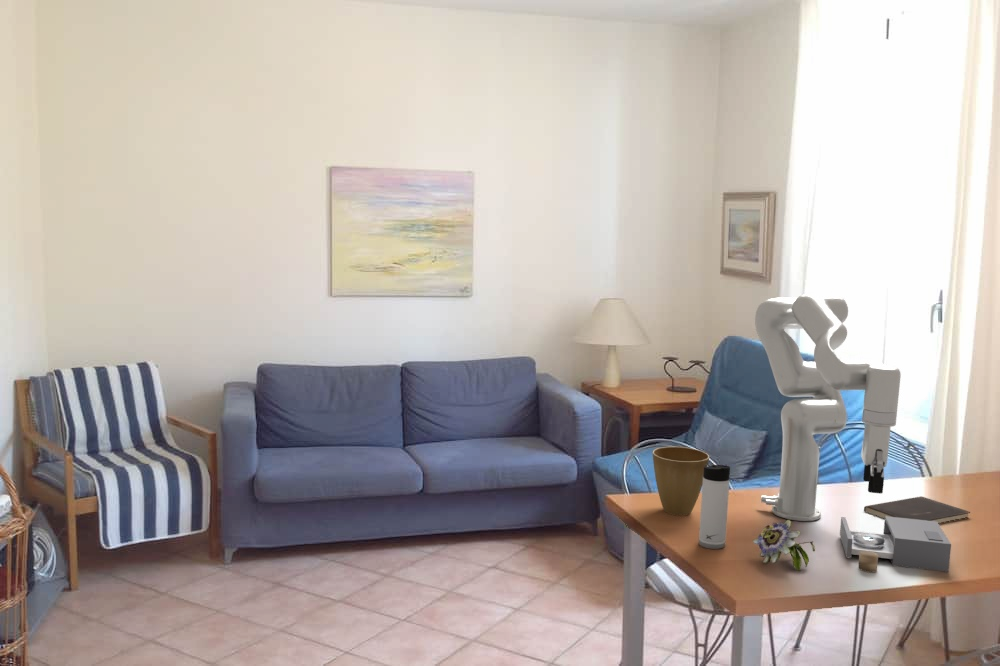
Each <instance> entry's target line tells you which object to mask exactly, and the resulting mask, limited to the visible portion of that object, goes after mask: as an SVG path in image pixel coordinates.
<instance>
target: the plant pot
mask: <svg viewBox="0 0 1000 666" xmlns="http://www.w3.org/2000/svg"><path fill="white" fill-rule="evenodd" d="M652 460H653V461H652V463H653V471H654V476H655V477H654V478H655V484H656V487H657V493H658V497H659V500H660V504H661V505H662V509H663V511H664V512H665V513H667V514H669V515H673V516H688V515H691V513H692V512H693V510H694V508H695V506H696V504H697V501H698V499H699V496H700V493H701V492H702V484H703V474H704V466H708V465H709V460H710V455H709V454H708V453H707V452H704V451H703V450H701V449H696V448H692V447H684V446H663V447H657V448H654V449H653V451H652Z"/></svg>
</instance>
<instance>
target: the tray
mask: <svg viewBox="0 0 1000 666" xmlns="http://www.w3.org/2000/svg"><path fill="white" fill-rule="evenodd" d="M840 518H841V520H840V529H839V537H840V540H841V543H842V547H843V550H844V554H845V557H846V558H847V559H851V558H852V555H853V556H854V555H855V556H856V555H857V556H859V554H860V552H862V551H869V552H873V553H876V554H878V558H881V559H889V560H890V559H893V549H894V538H893V536H892V535H888V534H883V533H877V532H871V531H870V532H868V531H859V530H850V526H849V523H848V521H847V518H846V517H845V516H841V517H840ZM856 533H870V534H875V535H878V536H880V537H882V538H884V547H883V548H881V549H867V548H863V547H859V546H857V545H855V544H854V543H853V536H854V534H856Z"/></svg>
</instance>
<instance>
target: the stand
mask: <svg viewBox="0 0 1000 666" xmlns="http://www.w3.org/2000/svg"><path fill="white" fill-rule="evenodd" d="M878 563H879V557H878V554H876V553H873V552H869V551H862V552H860V554H859V555H858V566H857V568H858V569H859V570H860V571H863V572H867V573H875V572H878V571H877V570H878Z"/></svg>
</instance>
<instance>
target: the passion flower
mask: <svg viewBox="0 0 1000 666" xmlns="http://www.w3.org/2000/svg"><path fill="white" fill-rule="evenodd" d="M791 526H792V520H790V519H787V520H786V521H784V523H783V522H777V523H774V522H773V524H772V525H770V524H767V525H766V526H765V527H763V529H762V532H760V533H759V534H758V538H755V539H753V540H752V543H754V544H755V545H758V547H759V550H760V551H761V552H760V555H759V557H760V558H763V561H762V563H763V564H768V563H770V561H771V562H772V564H775V563H777V562H778V561H779V559H780V557H781V554H784V555H785V556H786V555H789V554H790V557H791V559H792V564H793V567H794V569H795V570H797V571H798V572H800V571H801V567H802V559H803V561H804V563H805V568H807V567H808V564H809V562H810V561H809V556H808V554H807V551H805V549H804V548H803V547H802V546H801V545H802V544H807V543H809V544H810V545H811V547H812V552H815V551H816V547H815V544H814V541H806V542H805V541H804V542H801V543H800V542H799V543H797V542H796V541H795V540H794V539H796V538H797V537H799V536H800V534H801V533H800V532H801V531H798V530H797V531H796V530H795V531H791V530H789V529H790V527H791Z"/></svg>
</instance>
